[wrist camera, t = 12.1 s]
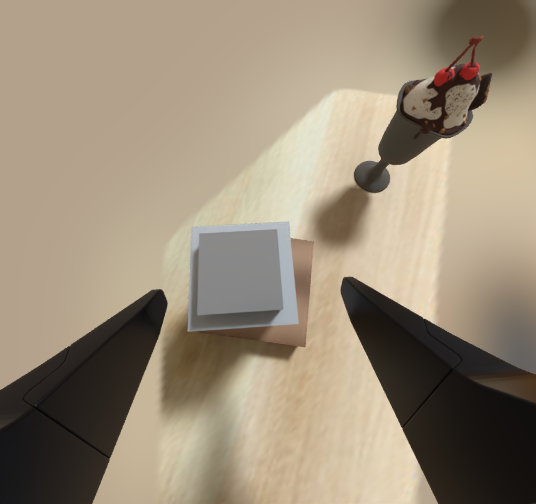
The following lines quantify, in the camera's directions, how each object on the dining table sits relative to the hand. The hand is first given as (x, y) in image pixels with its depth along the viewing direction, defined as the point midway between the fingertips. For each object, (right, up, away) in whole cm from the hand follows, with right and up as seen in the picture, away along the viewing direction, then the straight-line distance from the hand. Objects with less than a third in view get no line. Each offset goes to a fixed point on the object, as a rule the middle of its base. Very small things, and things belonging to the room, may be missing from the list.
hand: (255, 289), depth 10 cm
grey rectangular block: (-1, -2, +10) cm, 11 cm away
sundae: (+15, +12, +17) cm, 26 cm away
